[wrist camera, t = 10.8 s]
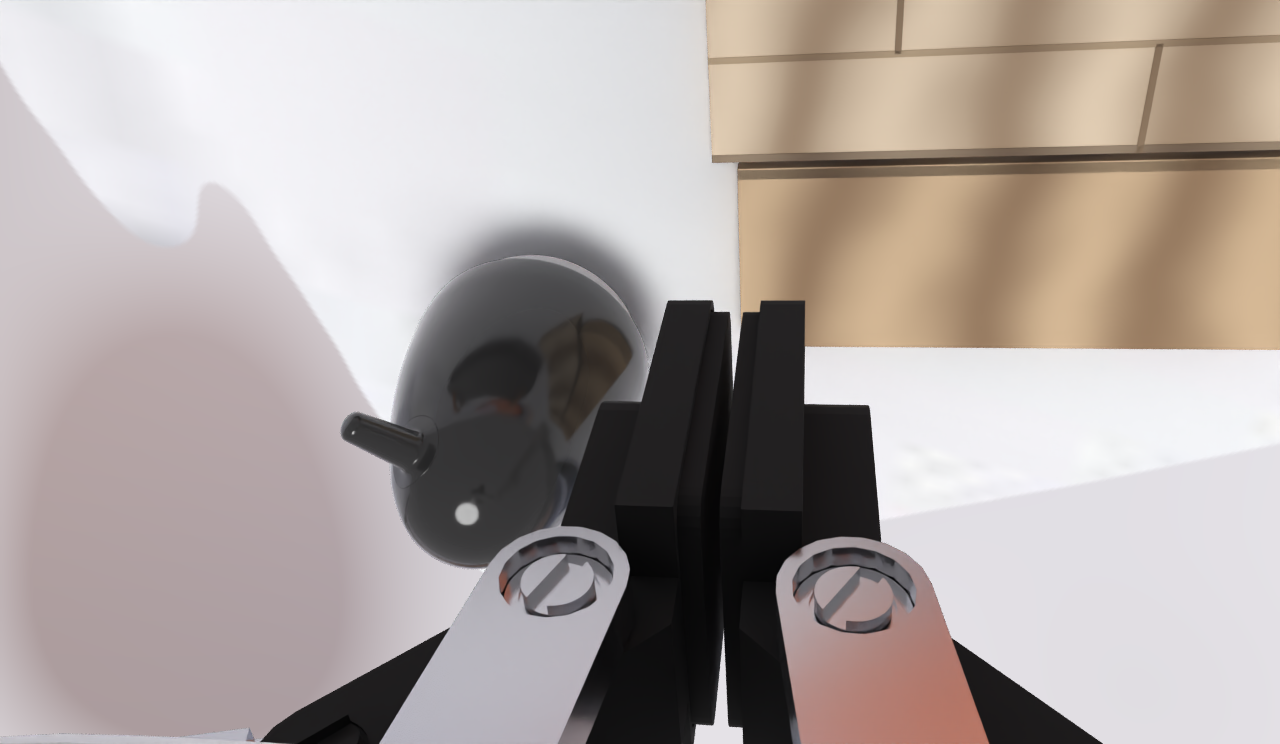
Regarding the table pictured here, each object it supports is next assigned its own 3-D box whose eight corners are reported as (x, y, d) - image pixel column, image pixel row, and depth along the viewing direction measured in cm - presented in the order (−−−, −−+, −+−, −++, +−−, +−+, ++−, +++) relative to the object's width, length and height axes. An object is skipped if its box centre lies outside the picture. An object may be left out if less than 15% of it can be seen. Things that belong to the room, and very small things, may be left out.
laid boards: (1433, -101, 33) (1453, -96, 32) (1360, 136, 37) (1376, 147, 36) (706, -58, 37) (703, -52, 36) (714, 152, 41) (712, 162, 40)
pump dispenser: (540, 173, 43) (424, 355, 30) (705, 334, 46) (663, 563, 33) (399, 309, 47) (247, 517, 35) (558, 447, 50) (471, 686, 38)
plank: (1328, 146, 37) (1343, 155, 36) (1277, 336, 41) (1289, 349, 40) (739, 160, 41) (737, 169, 40) (743, 333, 45) (741, 346, 44)
